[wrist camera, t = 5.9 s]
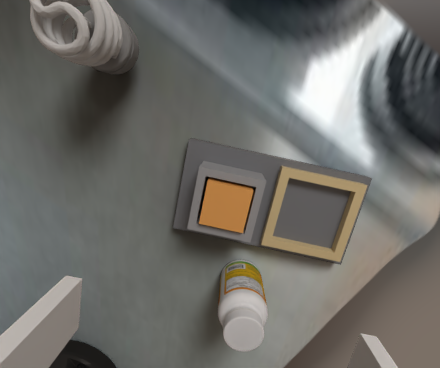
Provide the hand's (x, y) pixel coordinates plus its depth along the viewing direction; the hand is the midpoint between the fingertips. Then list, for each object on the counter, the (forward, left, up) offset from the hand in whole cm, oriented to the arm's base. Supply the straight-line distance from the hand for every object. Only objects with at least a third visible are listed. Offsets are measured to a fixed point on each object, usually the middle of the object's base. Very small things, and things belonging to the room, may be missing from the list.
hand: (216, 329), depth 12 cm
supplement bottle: (0, -11, -21) cm, 23 cm away
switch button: (0, +1, -18) cm, 18 cm away
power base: (+5, -1, -20) cm, 21 cm away
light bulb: (-7, +19, -21) cm, 29 cm away
